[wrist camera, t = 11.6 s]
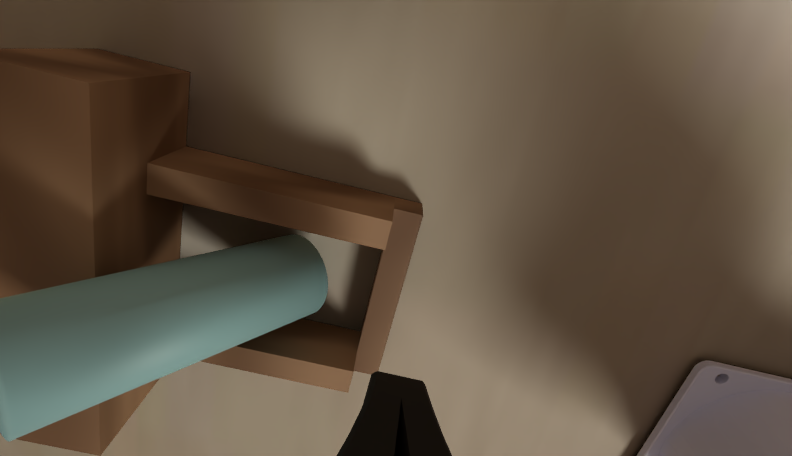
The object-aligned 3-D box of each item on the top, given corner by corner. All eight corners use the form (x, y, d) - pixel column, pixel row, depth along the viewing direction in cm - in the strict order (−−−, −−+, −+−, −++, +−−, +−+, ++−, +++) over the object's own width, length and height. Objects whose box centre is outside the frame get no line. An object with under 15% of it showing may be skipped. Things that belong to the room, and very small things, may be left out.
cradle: (441, 135, 15) (454, 173, 10) (366, 399, 19) (353, 505, 15) (96, 48, 14) (-50, 48, 10) (103, 344, 18) (6, 437, 14)
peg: (333, 253, 15) (2, 349, 8) (321, 328, 16) (19, 470, 9) (276, 222, 16) (-39, 281, 9) (269, 292, 17) (-22, 390, 10)
